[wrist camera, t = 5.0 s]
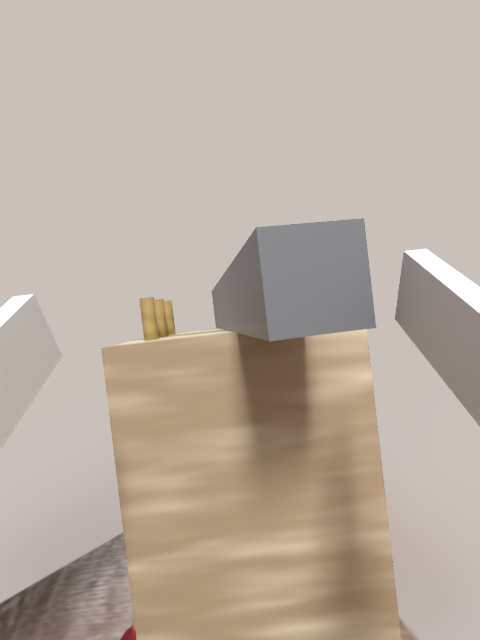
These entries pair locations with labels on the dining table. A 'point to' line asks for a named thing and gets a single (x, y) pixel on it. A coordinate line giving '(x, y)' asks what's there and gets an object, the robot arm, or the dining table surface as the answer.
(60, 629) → the dining table surface
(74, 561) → the dining table surface
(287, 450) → the shelf stand
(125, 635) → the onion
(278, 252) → the bar
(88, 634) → the dining table surface
